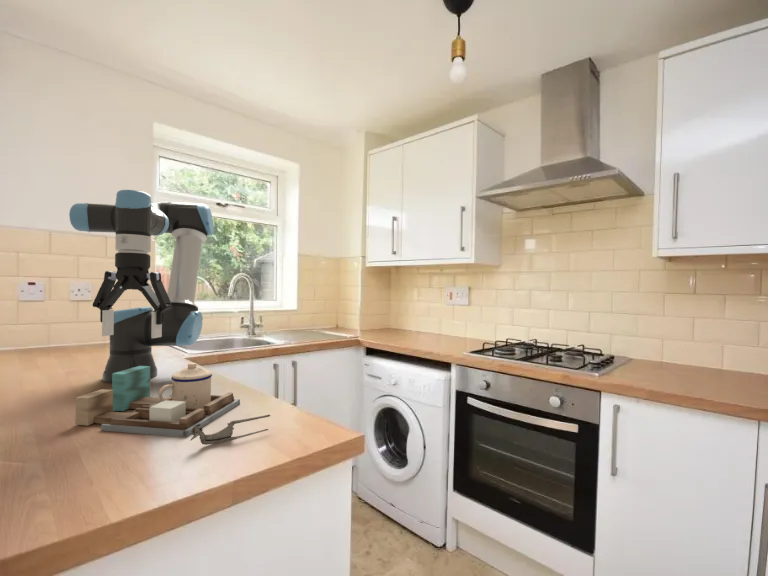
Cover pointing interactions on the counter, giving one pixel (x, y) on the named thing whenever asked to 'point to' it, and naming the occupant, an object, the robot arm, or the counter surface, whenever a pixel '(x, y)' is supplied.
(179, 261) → the robot arm
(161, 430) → the lane rails
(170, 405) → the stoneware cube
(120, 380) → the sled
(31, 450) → the counter surface
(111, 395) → the sled
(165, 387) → the teacup with lid
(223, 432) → the nutcracker
